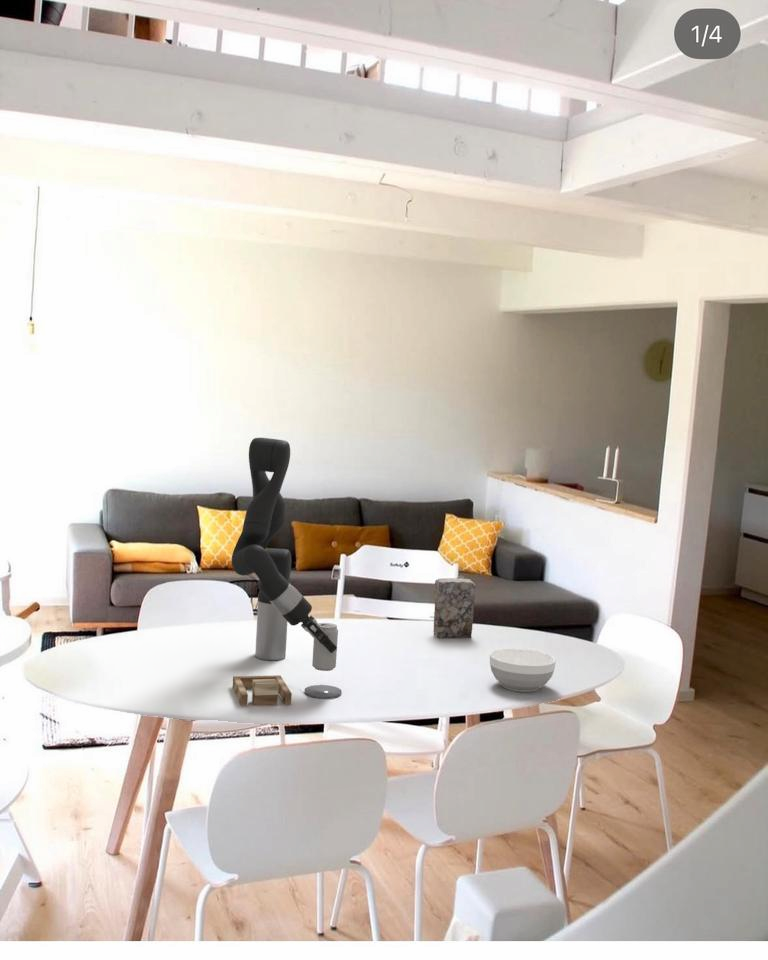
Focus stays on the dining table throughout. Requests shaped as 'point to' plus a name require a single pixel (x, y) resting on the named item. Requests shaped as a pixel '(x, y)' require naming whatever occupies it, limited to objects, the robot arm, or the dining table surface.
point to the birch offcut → (265, 687)
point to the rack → (246, 682)
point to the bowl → (522, 669)
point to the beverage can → (325, 649)
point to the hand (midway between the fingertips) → (331, 647)
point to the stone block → (454, 608)
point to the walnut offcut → (264, 700)
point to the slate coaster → (323, 691)
